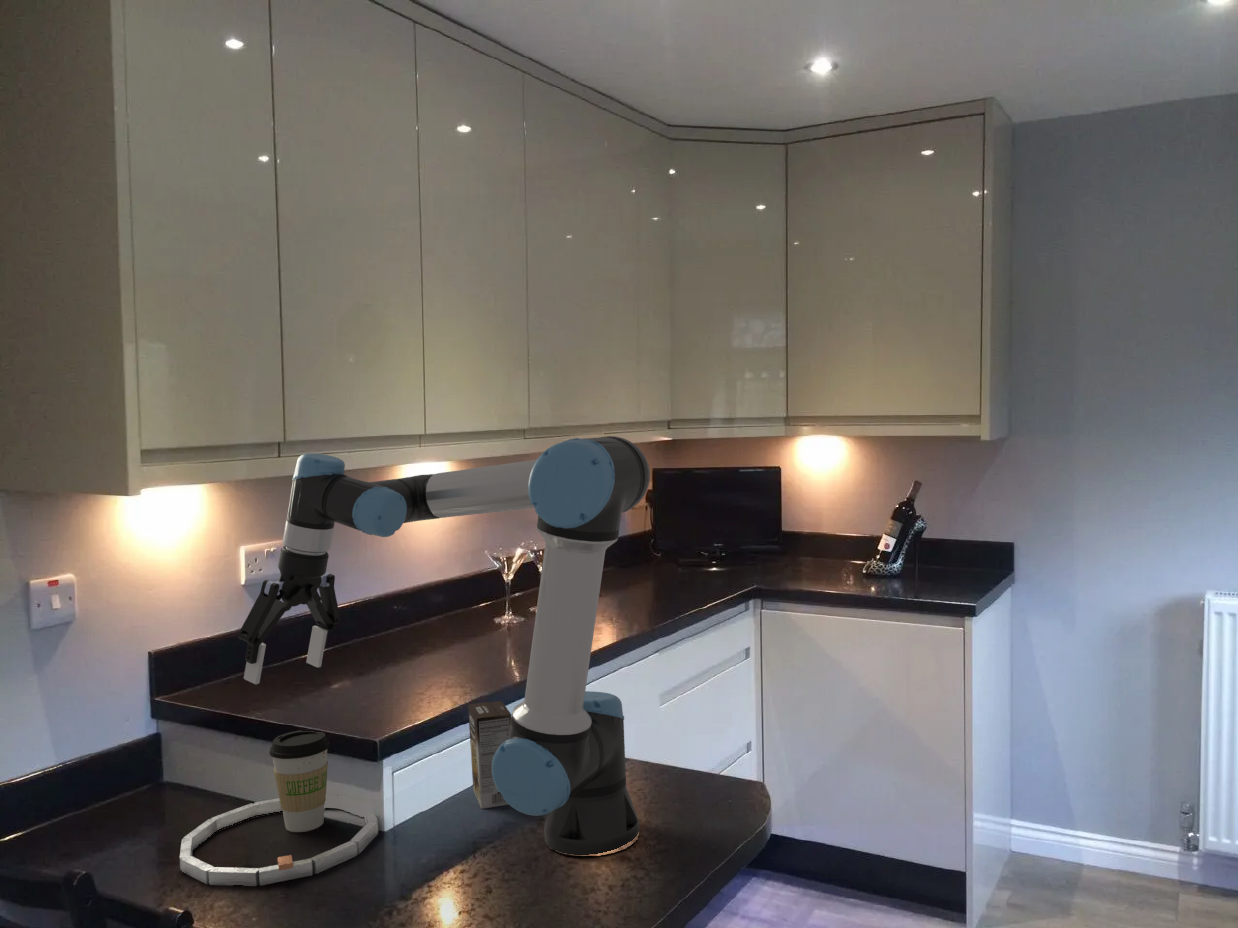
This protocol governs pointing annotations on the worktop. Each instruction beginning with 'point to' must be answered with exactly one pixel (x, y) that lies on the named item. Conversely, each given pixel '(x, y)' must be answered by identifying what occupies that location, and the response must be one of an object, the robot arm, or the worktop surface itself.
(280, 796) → the coffee cup
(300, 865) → the centring ring
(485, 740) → the coffee box
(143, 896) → the worktop surface
